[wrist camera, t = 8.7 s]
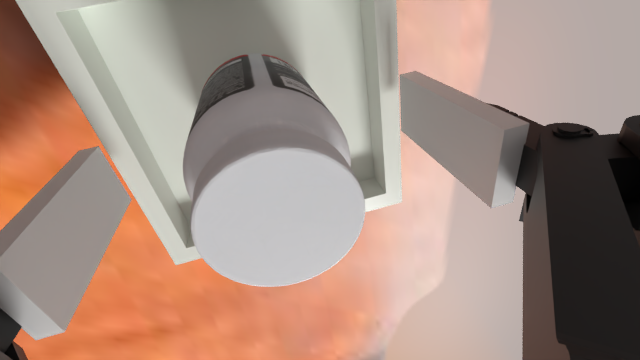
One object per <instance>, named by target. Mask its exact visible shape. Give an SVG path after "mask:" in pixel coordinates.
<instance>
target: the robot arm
mask: <svg viewBox="0 0 640 360" xmlns="http://www.w3.org/2000/svg"><path fill="white" fill-rule="evenodd" d="M400 95H401V131H402V132H404V133H405V134H406V135H407V136H408V137H409V138H410V139H412V140H413V141H414V142H415V143H416V144H417V145H419V146H420V147H421V148H422V149H423V150H424V151H426V152H427V153H428V154H429V155H430V156H431V157H432V158H434V159H435V160H436V161H437V162H438V163H439V164H441V165H442V166H443V167H444V168H445V169H446V170H448V171H449V172H450V173H451V174H452V175H453V176H454V177H456V178H457V179H458V180H459V181H460V182H461V183H463V184H464V185H465V186H466V187H467V188H469V189H470V190H471V191H472V192H473V193H474V194H475V195H476V196H478V197H479V198H480V199H481V200H482V201H484V202H485V203H486V204H487V205H488V206H489V207H490V208H494V207H498V206H501V205H504V204H508V203H511V202H513V199H514V195H515V190H516V186H517V187H519V188H520V189H522V190H523V191H524V192H526V194H525V198H524V203H523V207H522V212H521V215H520V220H519V221H523V360H640V115H637V116H632V117H629V118H626V120H625V121H624V124H623V126H622V129H621V131H620V134H608V135H599V134H598V133H597V132H596V131H595V130H594V129H592V128H589V127H587V126H583V125H579V124H573V123H554V124H549V125H547V126H543V125H540V124H538V123H536V122H534V121H531V120H529V119H527V118H525V117H523V116H518V115H517V114H516V113H513V112H509V110H507V109H505V108H502V107H500V106H498V105H492V104H488V103H484V102H482V101H480V100H478V99H476V98H474V97H471V96H469V95H467V94H465V93H463V92H461V91H458V90H456V89H454V88H452V87H450V86H447V85H445V84H443V83H441V82H439V81H437V80H434V79H432V78H430V77H428V76H426V75H423V74H421V73H419V72H417V71H414V72H410V73H405V74H401V75H400ZM130 201H131V198H130V197H129V195H128V193H127V192H126V190H125V188H124V187H123V185H122V184H121V182H120V180H119V179H118V177H117V175H116V174H115V172H114V171H113V169H112V167H111V166H110V164H109V163H108V161H107V159H106V158H105V156H104V154H103V153H102V151H101V150H100V148H99V146H97V147H93V148H89V149H85V150H81V151H78V152H77V153H76V154H75V155H74V156H73V158H72V159H71V160H70V161H69V162H68V163H67V164H66V165H65V166H64V167H63V168H62V169H61V170H60V171H59V172H58V173H57V174H56V175H55V176H54V177H53V178H52V179H51V180H50V181H49V182H48V183H47V184H46V185H45V186H44V187H43V188H42V189H41V190H40V191H39V192H38V193H37V194H36V195H35V196H34V197H33V198H32V199H31V200H30V201H29V202H28V203H27V204H26V205H25V206H24V208H23V209H22V210H21V211H20V212H19V213H18V214H17V215H16V216H15V217H14V218H13V219H12V220H11V221H10V222H9V223H8V224H7V225H6V226H5V227H4V228H3V229H2V230H1V231H0V360H28V359H27V357H26V355H25V353H24V351H23V349H22V348H21V347H20V346H19V345H17V344H16V343H15V342H14V341H13V340H14V338H15V337H16V335H17V334H18V332H19V330H20V329H21V328H22V329H23V330H24V331H26V332H27V333H28V334H29V335H30V336H32V337H33V338H34V339H35V340H39V339H42V338H45V337H49V336H52V335H56V334H59V333H63V332H65V330H66V328H67V326H68V324H69V322H70V320H71V318H72V317H73V315H74V313H75V311H76V309H77V307H78V305H79V303H80V301H81V299H82V297H83V295H84V293H85V291H86V289H87V287H88V285H89V283H90V281H91V279H92V277H93V275H94V273H95V271H96V269H97V267H98V265H99V263H100V261H101V259H102V257H103V255H104V253H105V251H106V249H107V247H108V245H109V243H110V241H111V239H112V237H113V235H114V233H115V231H116V229H117V227H118V225H119V223H120V221H121V219H122V217H123V215H124V213H125V211H126V209H127V207H128V205H129V203H130Z"/></svg>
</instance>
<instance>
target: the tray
mask: <svg viewBox="0 0 640 360" xmlns="http://www.w3.org/2000/svg"><path fill="white" fill-rule="evenodd" d="M15 1H16V2H17V4H18V6H19V7H20V9H21V10H22V12H23V14H24V15H25V17H26V19H27V20H28V22H29V24H30V25H31V27H32V29H33V30H34V32H35V34H36V35H37V37H38V39H39V40H40V42H41V43H42V45H43V47H44V48H45V50H46V52H47V53H48V55H49V57H50V58H51V60H52V62H53V63H54V65H55V67H56V68H57V70H58V72H59V73H60V75H61V76H62V78H63V80H64V81H65V83H66V85H67V86H68V88H69V90H70V91H71V93H72V95H73V96H74V98H75V100H76V101H77V103H78V105H79V106H80V108H81V109H82V111H83V113H84V114H85V116H86V118H87V119H88V121H89V123H90V124H91V126H92V128H93V129H94V131H95V133H96V134H97V136H98V138H99V139H100V141H101V142H102V144H103V146H104V147H105V149H106V151H107V152H108V154H109V156H110V157H111V159H112V161H113V162H114V164H115V166H116V167H117V169H118V171H119V172H120V174H121V175H122V177H123V179H124V180H125V182H126V184H127V185H128V187H129V189H130V190H131V192H132V194H133V195H134V197H135V199H136V200H137V202H138V204H139V205H140V207H141V208H142V210H143V212H144V213H145V215H146V217H147V218H148V220H149V222H150V223H151V225H152V227H153V228H154V230H155V232H156V233H157V235H158V237H159V238H160V240H161V241H162V243H163V245H164V246H165V248H166V250H167V251H168V253H169V255H170V256H171V258H172V260H173V261H174V263H175V265H178V264H182V263H186V262H189V261H193V260H196V259H200V258H202V257H201V256H200V254H199V253H198V251H197V249H196V247H195V245H194V242H193V239H192V235H191V230H190V214H191V206H192V201H191V199H190V197H189V195H188V192H187V190H186V186H185V182H184V177H183V157H184V151H185V146H186V142H187V139H188V135H189V132H190V129H191V126H192V123H193V119H194V116H195V113H196V109H197V106H198V103H199V99H200V96H201V92H202V89H203V87H204V85H205V83H206V81H207V80H208V78H209V77H210V75H211V74H212V73H213V72H214V71H215V69H216V68H218V67H219V66H220V65H221V64H223V63H224V62H226V61H227V60H229V59H231V58H234V57H236V56H240V55H243V54H251V53H261V54H267V55H271V56H274V57H277V58H280V59H282V60H284V61H285V62H287V63H289V64H290V65H291V66H293V67H294V68H295V69H296V70H297V71H298V72H299V73H300V74H301V75H302V76H303V78H304V79H305V80H306V81H307V83H308V84H309V85H310V87H311V88H312V89H313V90H314V92H315V93H316V94H317V96H318V97H319V98H320V99H321V101H322V102H323V103H324V104H325V106H326V107H327V108H328V110H329V111H330V112H331V113H332V115H333V116H334V117H335V118H336V120H337V122H338V123H339V125H340V127H341V128H342V130H343V132H344V134H345V137H346V139H347V142H348V145H349V150H350V157H351V169H352V171H353V173H354V174H355V176H356V178H357V180H358V182H359V184H360V186H361V188H362V191H363V195H364V200H365V212H368V211H372V210H375V209H379V208H383V207H386V206H390V205H393V204H397V203H401V202H402V185H401V150H400V115H399V80H398V45H397V11H396V0H15Z"/></svg>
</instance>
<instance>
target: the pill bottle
mask: <svg viewBox="0 0 640 360" xmlns="http://www.w3.org/2000/svg"><path fill="white" fill-rule="evenodd" d="M183 177H184V182H185V186H186V190H187V192H188V195H189V197H190V199H191V201H192V206H191V214H190V230H191V235H192V239H193V242H194V245H195V247H196V249H197V251H198V253H199V254H200V256H201V257H202V258H203V259H204V261H205V262H206V263H207V264H208V265H209V266H210V267H212V268H213V269H214V270H215V271H217V272H218V273H219V274H221V275H223V276H225V277H227V278H229V279H231V280H233V281H236V282H240V283H242V284H247V285H253V286H262V287H275V286H286V285H291V284H295V283H299V282H302V281H305V280H308V279H311V278H313V277H315V276H317V275H319V274H321V273H323V272H325V271H326V270H328V269H329V268H331V267H332V266H334V265H335V264H337V263H338V262H339V261H340V260H341V259H342V258H343V257H344V256H345V255H346V254H347V253H348V252H349V250H350V249H351V248H352V247H353V245H354V243H355V242H356V240H357V238H358V237H359V234H360V232H361V229H362V227H363V223H364V217H365V200H364V195H363V191H362V188H361V186H360V184H359V182H358V180H357V178H356V176H355V174H354V173H353V171H352V169H351V157H350V150H349V145H348V142H347V139H346V137H345V134H344V132H343V130H342V128H341V127H340V125H339V123H338V122H337V120H336V118H335V117H334V116H333V115H332V113H331V112H330V111H329V110H328V108H327V107H326V106H325V104H324V103H323V102H322V101H321V99H320V98H319V97H318V96H317V94H316V93H315V92H314V90H313V89H312V88H311V87H310V85H309V84H308V83H307V81H306V80H305V79H304V78H303V76H302V75H301V74H300V73H299V72H298V71H297V70H296V69H295V68H294V67H293V66H291V65H290V64H289V63H287V62H285V61H284V60H282V59H280V58H277V57H274V56H271V55H267V54H261V53H251V54H243V55H240V56H236V57H234V58H231V59H229V60H227V61H226V62H224V63H223V64H221V65H220V66H219V67H218V68H216V69H215V71H214V72H213V73H212V74H211V75H210V77H209V78H208V80H207V81H206V83H205V85H204V87H203V89H202V92H201V96H200V99H199V103H198V106H197V109H196V113H195V116H194V119H193V123H192V126H191V129H190V132H189V135H188V139H187V142H186V146H185V151H184V157H183Z"/></svg>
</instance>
